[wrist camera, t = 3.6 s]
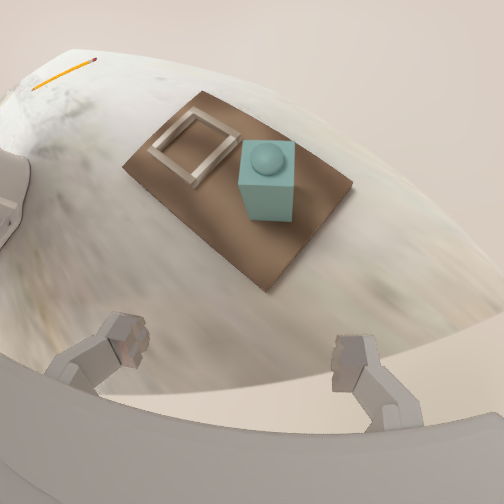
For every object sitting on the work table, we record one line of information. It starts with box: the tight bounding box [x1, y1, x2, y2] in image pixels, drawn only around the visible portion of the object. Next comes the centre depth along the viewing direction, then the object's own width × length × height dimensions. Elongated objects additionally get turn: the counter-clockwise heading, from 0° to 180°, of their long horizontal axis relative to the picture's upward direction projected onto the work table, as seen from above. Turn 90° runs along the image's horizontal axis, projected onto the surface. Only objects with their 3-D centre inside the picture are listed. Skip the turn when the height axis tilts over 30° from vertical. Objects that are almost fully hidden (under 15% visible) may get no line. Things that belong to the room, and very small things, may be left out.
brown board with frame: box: [122, 91, 353, 292], centre depth 30 cm, size 14×22×3 cm, turn 49°
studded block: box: [238, 140, 295, 222], centre depth 25 cm, size 4×4×8 cm
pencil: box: [31, 58, 97, 91], centre depth 42 cm, size 1×19×1 cm, turn 93°
